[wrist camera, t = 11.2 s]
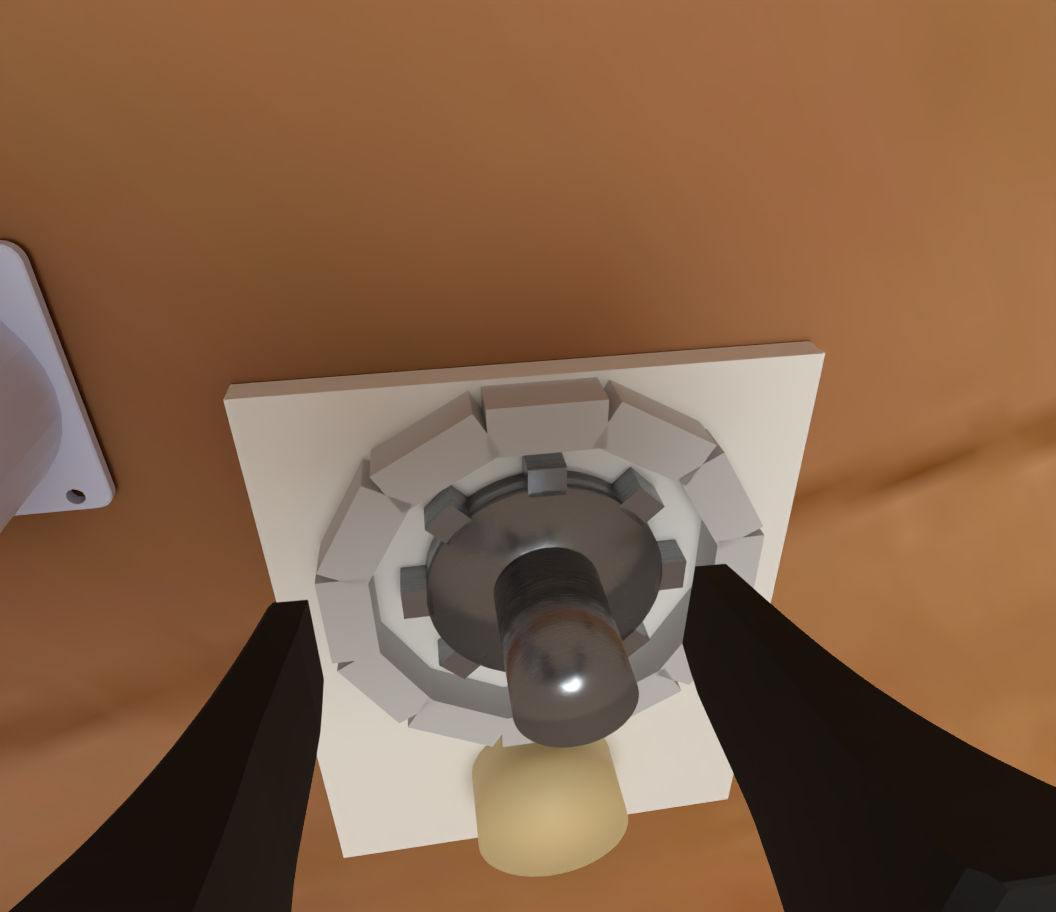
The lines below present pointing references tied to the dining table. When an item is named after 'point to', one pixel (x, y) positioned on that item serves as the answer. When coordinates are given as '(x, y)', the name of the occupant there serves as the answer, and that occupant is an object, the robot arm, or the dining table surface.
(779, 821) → the robot arm
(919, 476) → the dining table surface
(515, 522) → the gear
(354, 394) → the carrier plate
